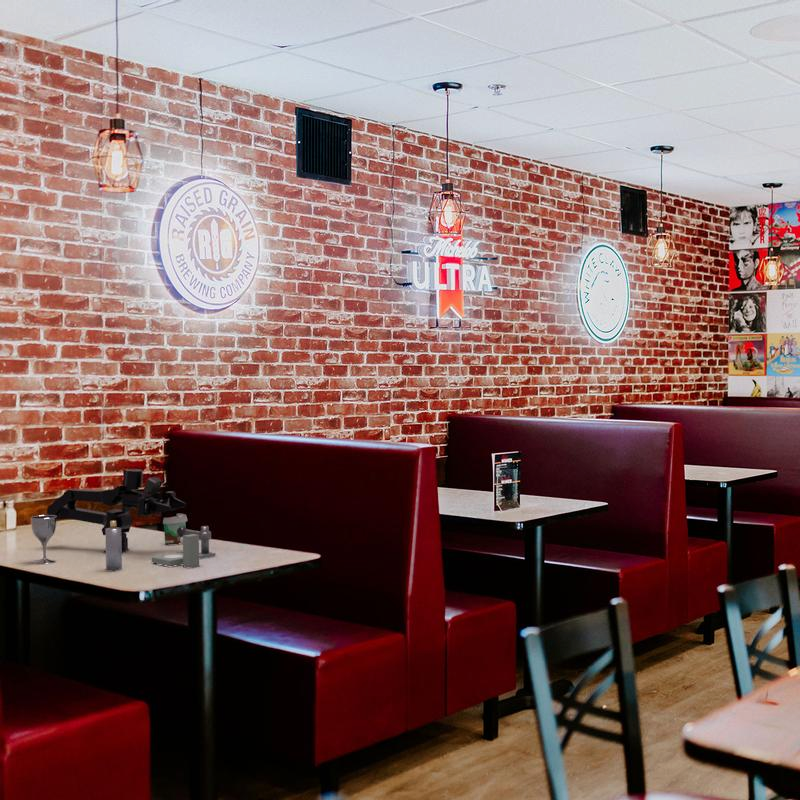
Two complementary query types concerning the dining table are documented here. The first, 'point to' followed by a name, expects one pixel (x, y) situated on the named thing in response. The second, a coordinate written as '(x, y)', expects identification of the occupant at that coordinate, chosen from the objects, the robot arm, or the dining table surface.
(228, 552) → the dining table surface
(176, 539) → the food container
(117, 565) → the grey bottle
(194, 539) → the press
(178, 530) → the lever
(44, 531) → the wine glass
